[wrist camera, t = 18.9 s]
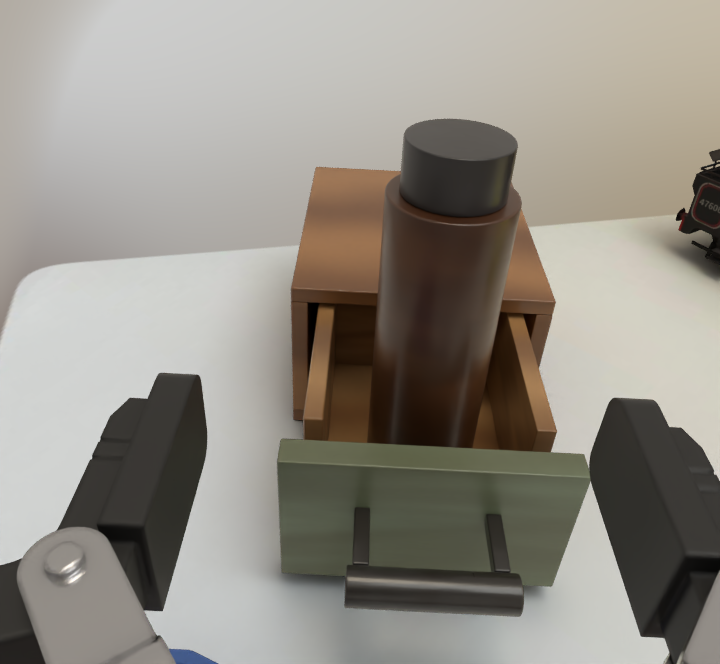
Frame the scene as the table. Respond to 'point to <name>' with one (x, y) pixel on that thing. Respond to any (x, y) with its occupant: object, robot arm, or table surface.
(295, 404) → the cabinet
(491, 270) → the pepper mill
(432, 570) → the drawer
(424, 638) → the table surface
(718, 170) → the toy train
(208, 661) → the bowl
